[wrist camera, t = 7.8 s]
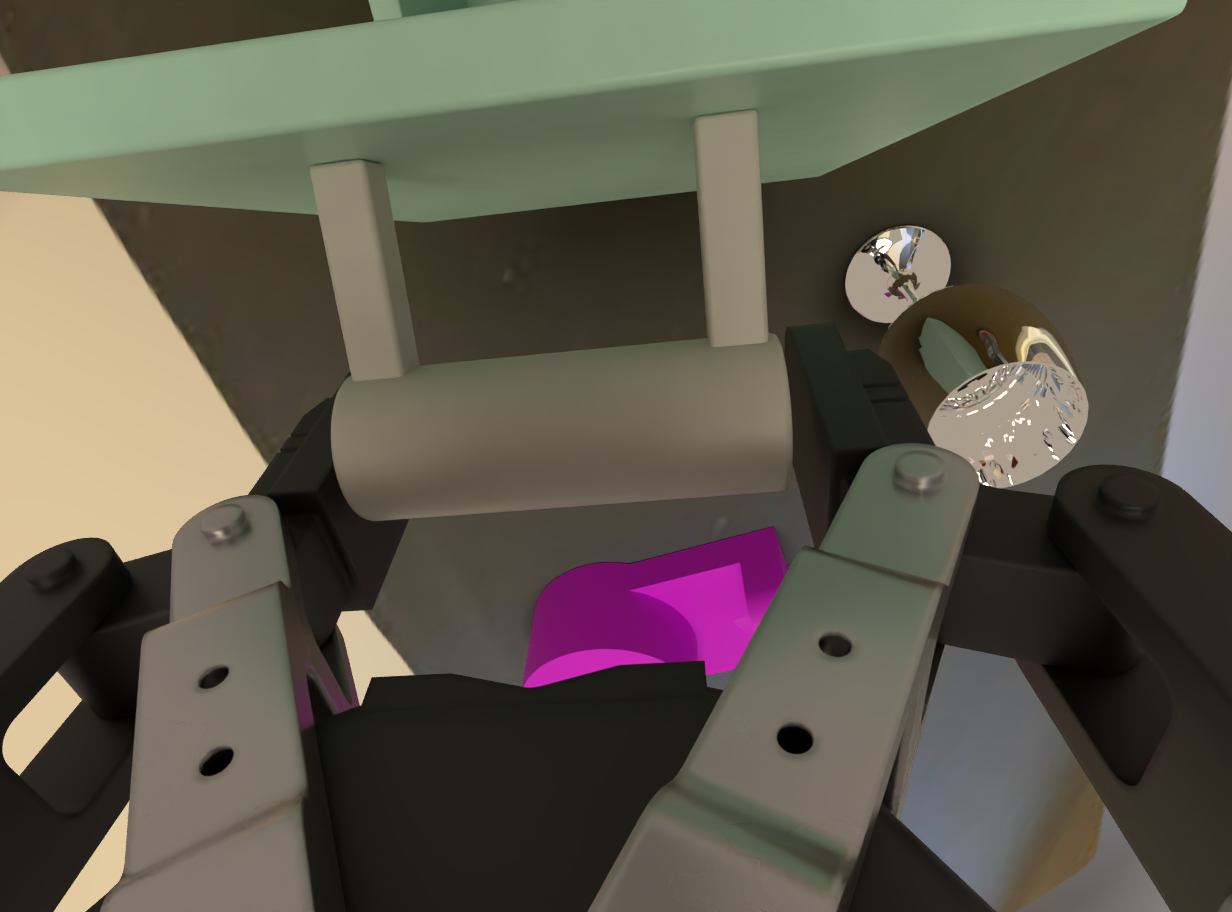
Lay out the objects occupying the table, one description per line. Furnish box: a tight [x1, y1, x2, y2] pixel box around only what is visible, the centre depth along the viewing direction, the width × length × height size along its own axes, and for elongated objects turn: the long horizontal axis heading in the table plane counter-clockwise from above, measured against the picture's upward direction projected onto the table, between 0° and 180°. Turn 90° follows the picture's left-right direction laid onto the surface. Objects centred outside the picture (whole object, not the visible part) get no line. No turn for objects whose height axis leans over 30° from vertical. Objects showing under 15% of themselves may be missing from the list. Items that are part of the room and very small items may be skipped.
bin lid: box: [0, 0, 1187, 521], centre depth 14 cm, size 16×12×5 cm
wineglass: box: [845, 225, 1089, 488], centre depth 27 cm, size 6×6×12 cm
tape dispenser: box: [522, 527, 789, 688], centre depth 42 cm, size 16×10×6 cm, turn 112°
